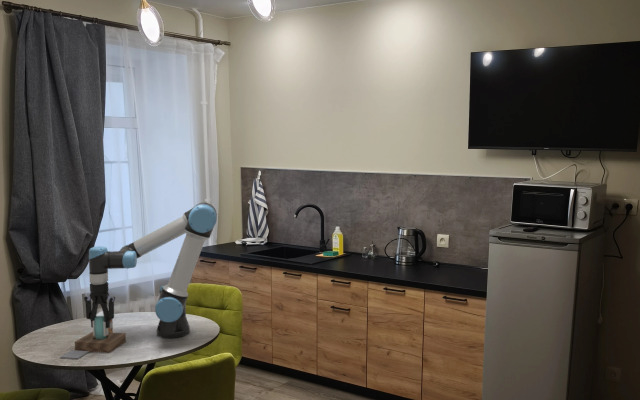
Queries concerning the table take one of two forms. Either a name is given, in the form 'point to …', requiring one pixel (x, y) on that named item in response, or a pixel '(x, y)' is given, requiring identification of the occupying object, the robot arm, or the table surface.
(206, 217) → the robot arm
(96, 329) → the plug
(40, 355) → the table surface
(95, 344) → the wooden block with hole
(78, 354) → the mat
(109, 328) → the small box
